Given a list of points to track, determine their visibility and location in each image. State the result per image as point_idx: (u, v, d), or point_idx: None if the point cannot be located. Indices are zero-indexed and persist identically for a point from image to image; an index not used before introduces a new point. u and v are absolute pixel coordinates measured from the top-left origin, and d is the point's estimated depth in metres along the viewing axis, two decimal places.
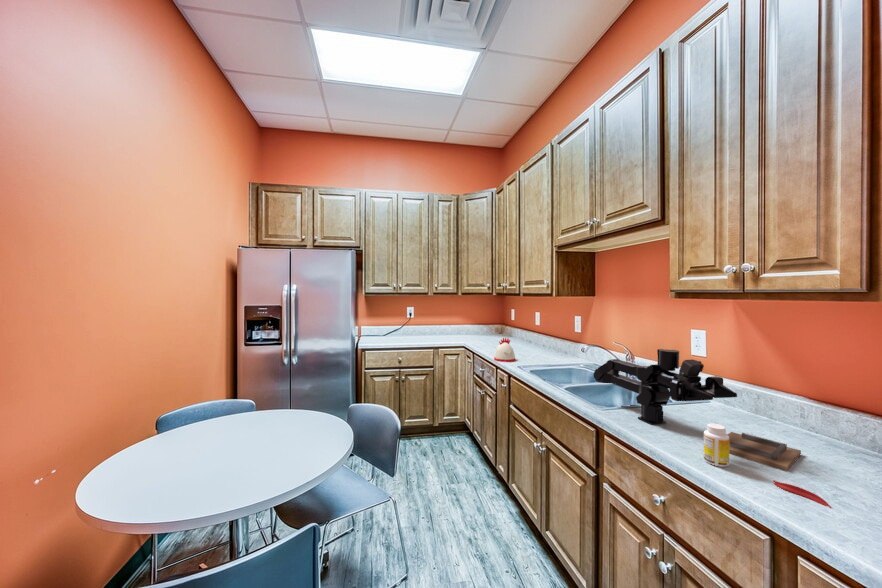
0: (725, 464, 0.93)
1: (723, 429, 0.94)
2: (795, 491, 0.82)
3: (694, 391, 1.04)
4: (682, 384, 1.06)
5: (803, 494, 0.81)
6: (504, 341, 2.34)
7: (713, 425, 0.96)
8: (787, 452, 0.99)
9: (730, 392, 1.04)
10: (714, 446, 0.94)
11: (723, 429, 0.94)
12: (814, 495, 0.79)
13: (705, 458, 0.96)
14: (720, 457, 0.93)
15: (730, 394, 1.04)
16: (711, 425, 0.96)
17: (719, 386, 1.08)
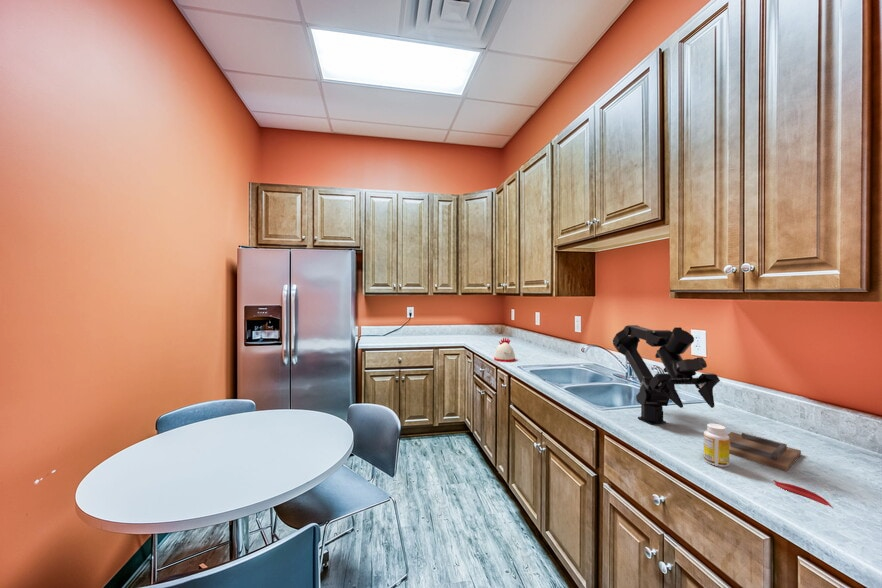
0: (725, 464, 0.93)
1: (723, 429, 0.94)
2: (796, 491, 0.82)
3: (671, 392, 1.06)
4: (664, 383, 1.06)
5: (804, 494, 0.81)
6: (504, 341, 2.34)
7: (713, 425, 0.96)
8: (787, 452, 0.99)
9: (710, 401, 1.04)
10: (714, 446, 0.94)
11: (723, 429, 0.94)
12: (815, 495, 0.79)
13: (705, 458, 0.96)
14: (720, 457, 0.93)
15: (709, 402, 1.04)
16: (711, 425, 0.96)
17: (707, 389, 1.06)
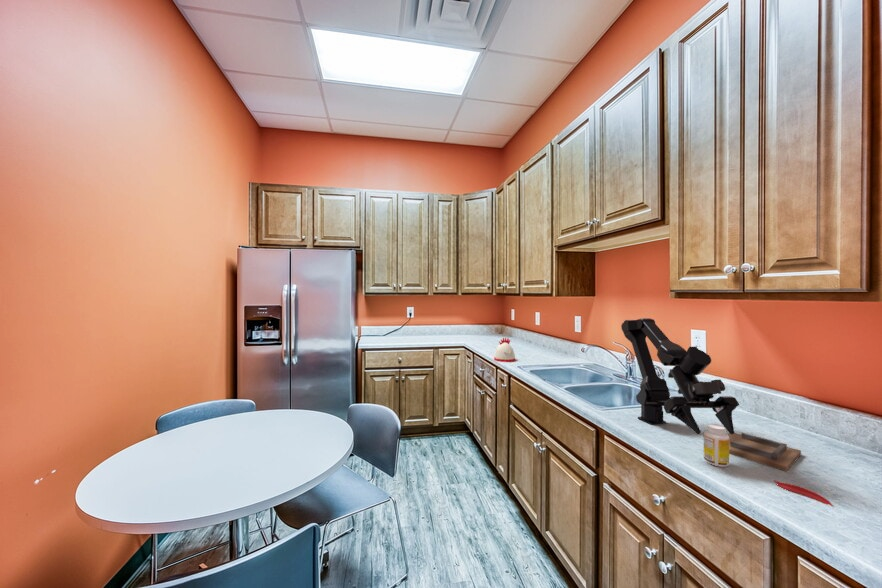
0: (725, 464, 0.93)
1: (723, 429, 0.94)
2: (797, 491, 0.82)
3: (687, 417, 0.99)
4: (680, 407, 0.99)
5: (805, 494, 0.81)
6: (504, 341, 2.34)
7: (713, 425, 0.96)
8: (787, 452, 0.99)
9: (729, 427, 0.97)
10: (714, 446, 0.94)
11: (723, 429, 0.94)
12: (816, 494, 0.80)
13: (705, 458, 0.96)
14: (720, 457, 0.93)
15: (728, 428, 0.97)
16: (711, 425, 0.96)
17: (725, 413, 0.99)
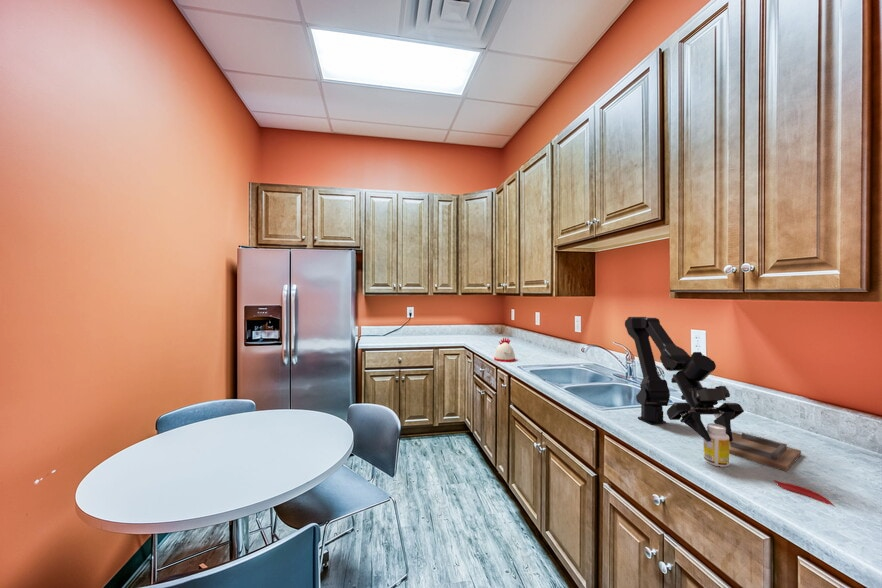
0: (725, 464, 0.93)
1: (723, 429, 0.94)
2: (798, 491, 0.82)
3: (697, 424, 0.97)
4: (689, 414, 0.97)
5: (806, 493, 0.81)
6: (504, 341, 2.34)
7: (713, 425, 0.96)
8: (787, 452, 0.99)
9: (728, 434, 0.95)
10: (714, 446, 0.94)
11: (723, 429, 0.94)
12: (817, 494, 0.80)
13: (705, 458, 0.96)
14: (720, 457, 0.93)
15: None
16: (711, 425, 0.96)
17: (724, 420, 0.97)
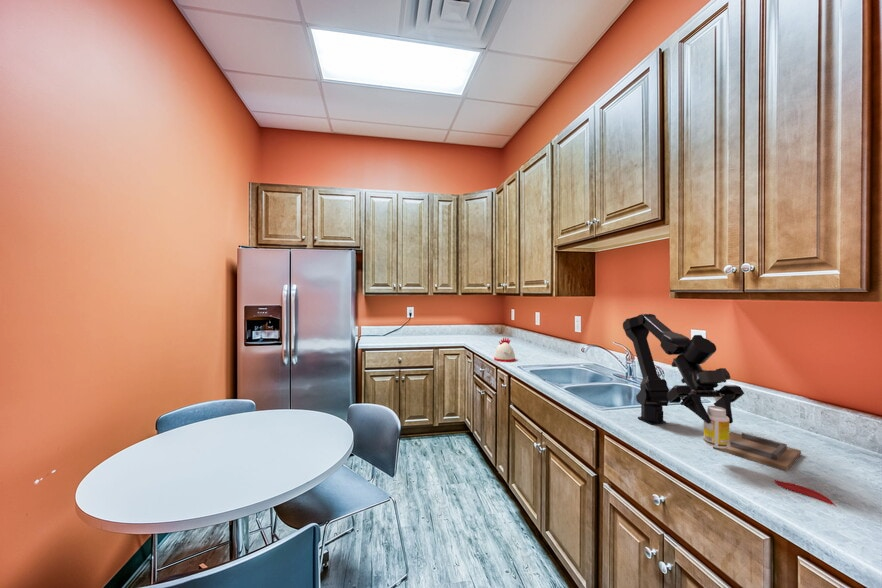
0: (725, 445, 0.93)
1: (723, 411, 0.94)
2: (798, 490, 0.82)
3: (697, 406, 0.97)
4: (689, 396, 0.97)
5: (807, 493, 0.81)
6: (504, 341, 2.34)
7: (713, 407, 0.96)
8: (787, 452, 0.99)
9: (728, 416, 0.95)
10: (714, 427, 0.94)
11: (723, 411, 0.94)
12: (817, 493, 0.80)
13: (705, 440, 0.96)
14: (720, 439, 0.93)
15: None
16: (711, 407, 0.96)
17: (724, 402, 0.97)
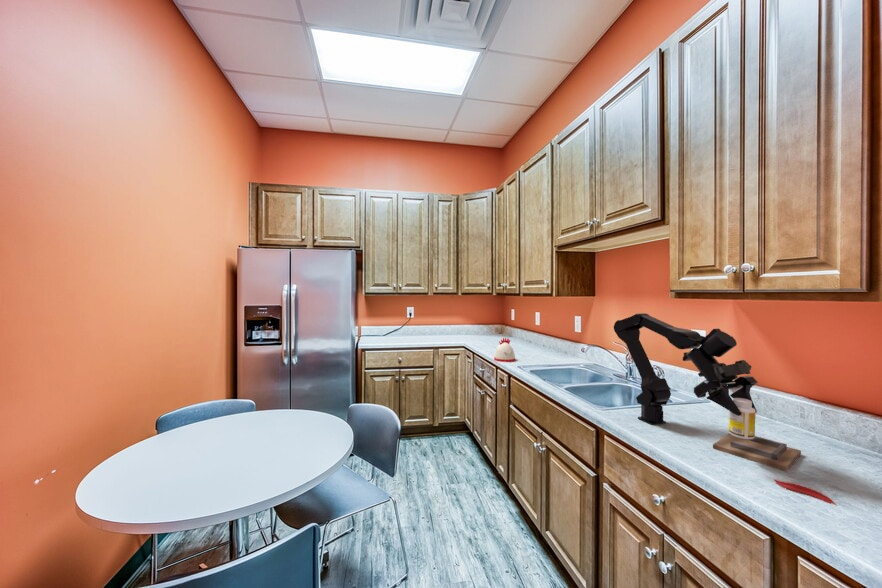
0: (753, 436, 0.95)
1: (751, 402, 0.96)
2: (799, 490, 0.82)
3: (726, 399, 0.98)
4: (720, 390, 0.97)
5: (807, 493, 0.81)
6: (504, 341, 2.34)
7: (739, 399, 0.98)
8: (787, 452, 0.99)
9: None
10: (744, 419, 0.95)
11: (751, 402, 0.96)
12: (818, 493, 0.80)
13: (733, 432, 0.97)
14: (749, 430, 0.95)
15: None
16: (738, 399, 0.98)
17: (744, 393, 1.00)
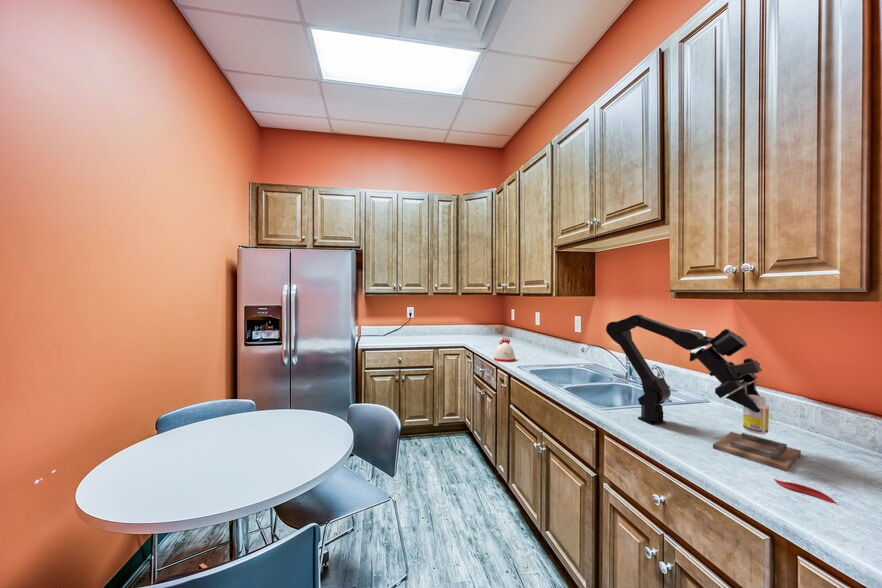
0: None
1: (764, 398, 1.01)
2: (800, 490, 0.82)
3: (746, 398, 1.01)
4: (742, 389, 1.00)
5: (808, 492, 0.81)
6: (504, 341, 2.34)
7: (753, 396, 1.02)
8: (787, 452, 0.99)
9: None
10: (762, 415, 1.00)
11: None
12: (819, 492, 0.80)
13: (751, 429, 1.01)
14: (766, 425, 1.00)
15: None
16: (753, 396, 1.02)
17: (753, 390, 1.05)
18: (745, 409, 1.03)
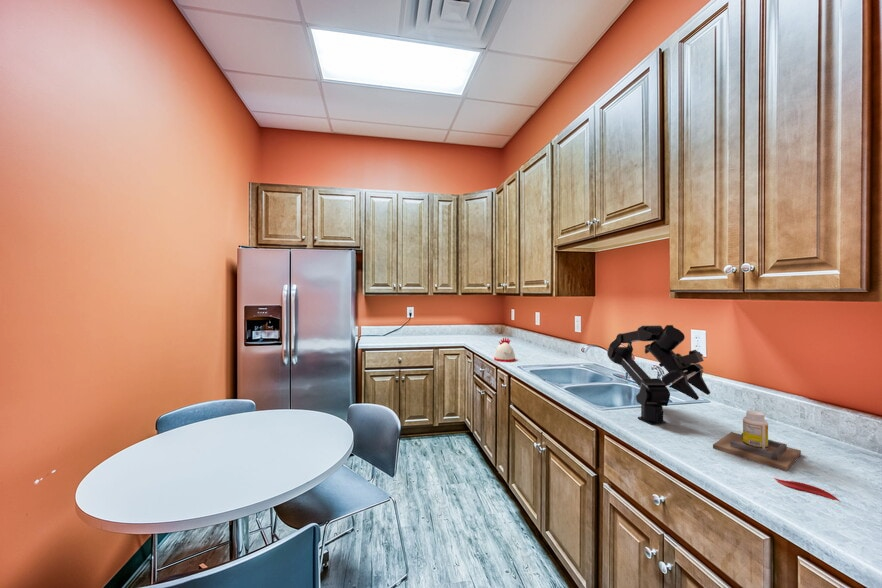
0: None
1: (763, 414, 1.01)
2: (802, 488, 0.83)
3: (686, 386, 1.10)
4: (682, 378, 1.09)
5: (810, 490, 0.82)
6: (504, 341, 2.34)
7: (753, 412, 1.03)
8: (787, 452, 0.99)
9: (706, 389, 1.14)
10: (762, 432, 1.00)
11: None
12: (820, 490, 0.81)
13: (751, 445, 1.01)
14: (766, 441, 1.00)
15: (704, 390, 1.14)
16: (752, 413, 1.02)
17: (699, 378, 1.16)
18: (745, 425, 1.03)
